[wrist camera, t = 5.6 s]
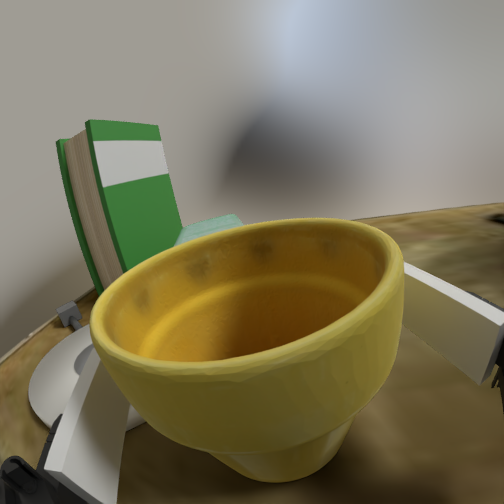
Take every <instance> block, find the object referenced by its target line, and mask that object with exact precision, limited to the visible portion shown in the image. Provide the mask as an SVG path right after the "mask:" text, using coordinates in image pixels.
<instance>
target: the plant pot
mask: <svg viewBox="0 0 504 504" xmlns="http://www.w3.org/2000/svg"><path fill="white" fill-rule="evenodd" d="M403 305H404V260H403V256H402V253H401V251H400V249H399V246H398V245H397V244H396V243H395V241H394V240H393V239H392V238H391V237H390V236H389V235H387V234H386V233H384V232H382V231H381V230H379V229H377V228H375V227H372V226H369V225H366V224H363V223H360V222H355V221H350V220H342V219H334V218H298V219H285V220H276V221H268V222H261V223H256V224H249V225H244V226H240V227H235V228H231V229H227V230H223V231H219V232H215V233H212V234H209V235H205V236H202V237H199V238H196V239H193V240H190V241H187V242H185V243H182V244H179V245H177V246H174V247H172V248H170V249H167V250H165V251H163V252H161V253H159V254H157V255H155V256H153V257H151V258H149V259H147V260H145V261H143V262H141V263H140V264H138V265H137V266H135V267H133V268H132V269H130V270H129V271H127V272H126V273H124V274H123V275H121V276H120V277H119V278H118V279H116V280H115V281H114V282H113V283H112V284H111V285H110V286H109V287H108V288H107V289H106V290H105V291H104V292H103V293H102V294H101V295H100V297H99V298H98V300H97V301H96V303H95V305H94V307H93V309H92V311H91V316H90V321H89V328H90V336H91V340H92V343H93V345H94V347H95V350H96V352H97V354H98V355H99V357H100V359H101V361H102V363H103V364H104V366H105V368H106V369H107V371H108V373H109V374H110V376H111V377H112V379H113V380H114V382H115V383H116V385H117V386H118V388H119V389H120V391H121V392H122V393H123V395H124V396H125V397H126V398H127V400H128V401H129V402H130V404H131V405H132V406H133V407H134V409H135V410H136V411H137V412H138V413H139V414H140V416H141V417H142V418H143V419H144V420H145V421H146V422H147V423H148V424H149V425H150V426H152V427H153V428H154V429H155V430H157V431H158V432H159V433H161V434H162V435H164V436H166V437H167V438H169V439H171V440H173V441H175V442H177V443H179V444H182V445H184V446H187V447H190V448H193V449H197V450H200V451H204V452H208V453H210V454H211V455H212V456H214V457H215V458H217V459H218V460H220V461H221V462H223V463H224V464H226V465H227V466H229V467H230V468H232V469H234V470H235V471H237V472H238V473H240V474H242V475H244V476H246V477H248V478H251V479H254V480H257V481H262V482H273V483H278V482H288V481H294V480H297V479H301V478H304V477H306V476H309V475H311V474H313V473H315V472H316V471H318V470H319V469H321V468H322V467H323V466H325V465H326V464H327V463H328V462H329V461H330V460H331V459H332V458H333V457H334V456H335V454H336V453H337V451H338V450H339V448H340V446H341V445H342V443H343V441H344V439H345V437H346V435H347V433H348V431H349V429H350V427H351V425H352V423H353V421H354V419H355V417H356V414H357V413H359V412H360V411H361V410H362V409H363V408H364V407H365V406H366V405H367V404H368V403H369V402H370V401H371V400H372V398H373V397H374V396H375V395H376V393H377V392H378V391H379V389H380V388H381V387H382V385H383V384H384V382H385V381H386V379H387V377H388V375H389V373H390V371H391V369H392V366H393V363H394V361H395V357H396V353H397V349H398V344H399V338H400V331H401V325H402V316H403Z"/></svg>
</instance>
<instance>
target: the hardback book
mask: <svg viewBox="0 0 504 504" xmlns="http://www.w3.org/2000/svg"><path fill="white" fill-rule="evenodd" d="M85 127H86V129H85V130H83V131H82V132H80V133H79V134H77V135H75V136H74V137H72V138H71V139H59V140H58V141H56V147H57V153H58V159H59V164H60V170H61V175H62V180H63V184H64V188H65V193H66V197H67V201H68V205H69V209H70V213H71V217H72V220H73V224H74V227H75V230H76V234H77V237H78V240H79V243H80V247H81V250H82V253H83V256H84V258H85V261H86V264H87V267H88V270H89V272H90V275H91V278H92V280H93V283H94V285H95V288H96V290H97V293H98V295H99V297H100V295H101V294H102V293H103V292H104V291H105V290H106V289H107V288H108V287H109V286H110V285H111V284H112V283H113V282H114V281H115V280H116V279H118V278H119V277H120V276H121V275H123V274H124V273H126V272H127V271H129V270H130V269H132V268H133V267H135V266H137V265H138V264H140V263H141V262H143V261H145V260H147V259H149V258H151V257H153V256H155V255H157V254H159V253H161V252H163V251H165V250H167V249H170V248H172V247H174V245H175V243H176V241H177V238H178V236H179V234H180V232H181V229H182V228H183V227H182V224H181V220H180V216H179V212H178V209H177V205H176V201H175V197H174V193H173V189H172V185H171V181H170V177H169V173H168V168H167V165H166V160H165V155H164V151H163V146H162V142H161V137H160V133H159V128H158V125H150V124H141V123H131V122H120V121H107V120H88V121H86V122H85Z"/></svg>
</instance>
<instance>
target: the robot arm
mask: <svg viewBox="0 0 504 504" xmlns="http://www.w3.org/2000/svg"><path fill="white" fill-rule="evenodd" d="M402 325H404V326H405V327H406V328H408V329H409V330H410V331H412V332H413V333H414V334H415V335H417V336H418V337H419V338H421V339H422V340H423V341H424V342H426V343H427V344H428V345H430V346H431V347H432V348H433V349H435V350H436V351H437V352H438V353H440V354H441V355H442V356H443V357H445V358H446V359H447V360H449V361H450V362H451V363H452V364H453V365H455V366H456V367H457V368H458V369H460V370H461V371H462V372H463V373H465V374H466V375H467V376H468V377H469V378H471V379H472V380H473V381H474V382H475V383H477V384H478V385H479V386H480V385H481V384H482V383H483V382H484V381H485V380H486V379H487V378H488V377H489V376H490V375H491V372H492V370H493V367H494V365H495V364H497V365H498V366H499V368H498V370H497V373H496V375H495V377H494V380H493V382H492V387H491V388H494V386H495V384H496V382H497V380H499V382H498V385H497V387H500V391H501V397H502V404H503V412H504V309H503V308H501V307H499V306H497V305H495V304H494V303H492V302H490V303H489V301H488V300H486V299H484V298H483V299H482V297H480V296H478V295H476V294H475V293H472V292H468V291H464V290H461V289H459V288H457V287H455V286H453V285H451V284H449V283H447V282H445V281H443V280H441V279H439V278H437V277H435V276H433V275H431V274H429V273H427V272H425V271H423V270H420V269H418V268H416V267H414V266H412V265H410V264H408V263H406V262H404V305H403V316H402ZM129 409H130V402H129V401H128V400H127V398H126V397H125V396H124V395H123V393H122V392H121V391H120V389H119V388H118V386H117V385H116V383H115V382H114V380H113V379H112V377H111V376H110V374H109V373H108V371H107V369H106V368H105V366H104V364H103V363H102V361H101V359H100V357H99V355H98V354H97V352H96V350H95V348H93V349H92V351H91V353H90V355H89V357H88V359H87V361H86V363H85V365H84V367H83V370H82V372H81V374H80V376H79V378H78V380H77V383H76V385H75V387H74V389H73V392H72V394H71V396H70V399H69V401H68V403H67V406H66V408H65V411H64V413H63V414H60V415H59V416H58V417H57V419H56V420H55V421H54V422H53V424H52V427H51V429H50V432H49V433H50V435H48V437H47V440H46V441H47V443H45V445H44V448H43V451H42V454H41V457H40V460H39V463H38V466H37V469H36V470H34V469H33V468H32V467H31V466H30V465H29V464H28V463H27V462H26V461H24V460H23V459H22V458H21V457H19V456H11V457H9V458H7V459H6V460H5V461H4V463H3V464H2V466H1V469H0V504H87V503H89V504H116V503H117V491H118V481H119V473H120V465H121V457H122V450H123V444H124V437H125V431H126V425H127V420H128V414H129Z"/></svg>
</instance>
